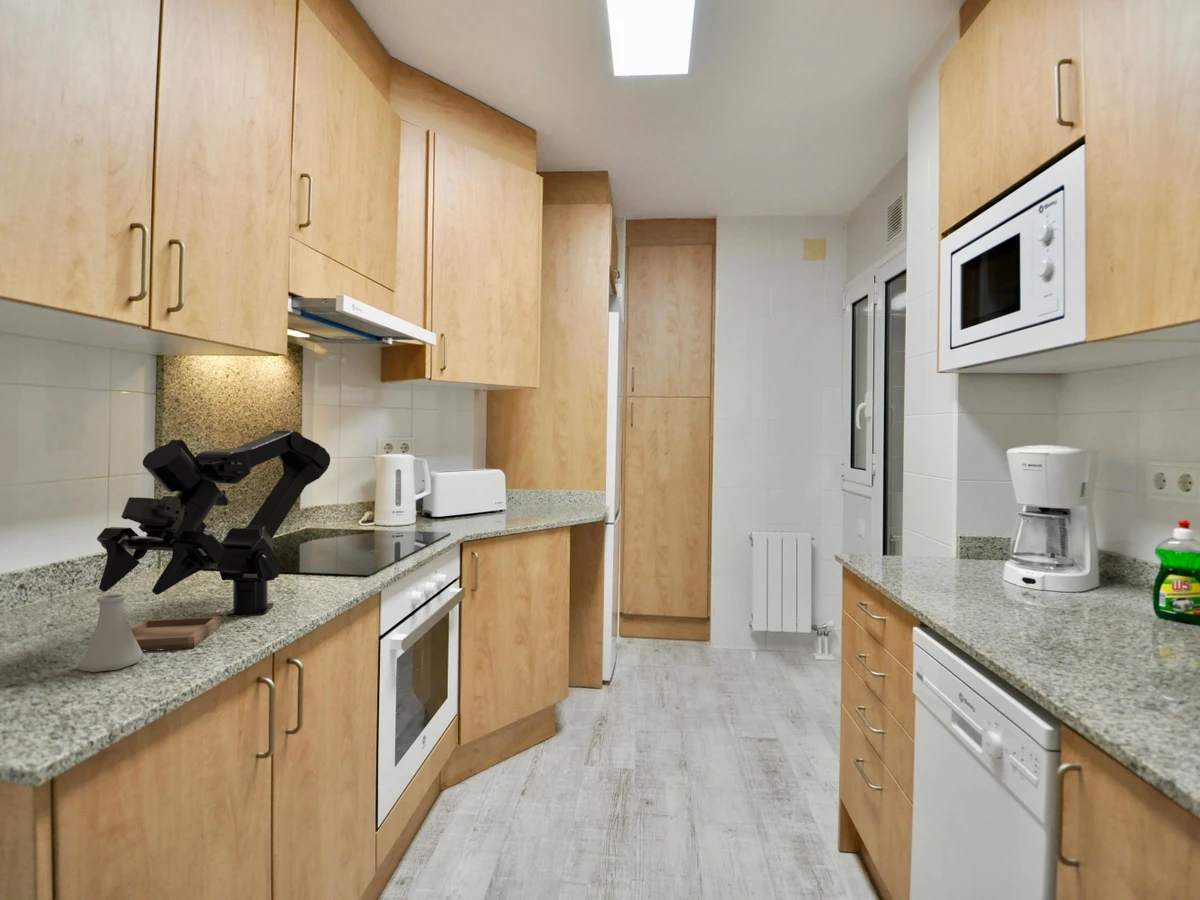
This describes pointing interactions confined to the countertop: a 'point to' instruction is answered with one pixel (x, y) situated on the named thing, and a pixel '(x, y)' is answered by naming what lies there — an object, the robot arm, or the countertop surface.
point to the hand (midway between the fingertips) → (128, 591)
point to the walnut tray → (174, 632)
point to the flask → (111, 638)
